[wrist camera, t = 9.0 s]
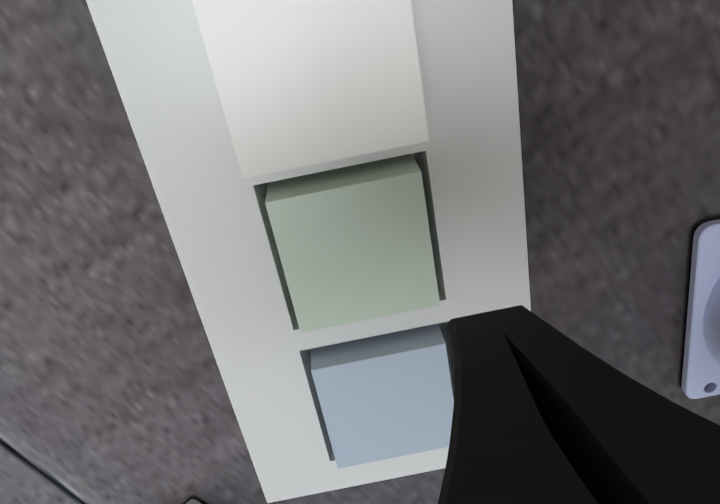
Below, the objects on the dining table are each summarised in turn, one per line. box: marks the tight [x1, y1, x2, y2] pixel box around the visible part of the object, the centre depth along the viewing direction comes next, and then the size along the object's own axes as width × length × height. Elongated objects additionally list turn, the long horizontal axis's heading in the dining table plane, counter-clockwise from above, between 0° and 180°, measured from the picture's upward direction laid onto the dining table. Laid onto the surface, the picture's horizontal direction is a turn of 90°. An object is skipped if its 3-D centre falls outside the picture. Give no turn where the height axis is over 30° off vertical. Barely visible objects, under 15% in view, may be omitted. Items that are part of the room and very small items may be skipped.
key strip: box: [86, 0, 531, 503], centre depth 17 cm, size 10×24×3 cm, turn 10°
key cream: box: [192, 0, 429, 179], centre depth 13 cm, size 4×4×3 cm
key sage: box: [265, 154, 440, 333], centre depth 18 cm, size 4×4×3 cm
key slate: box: [311, 323, 454, 469], centre depth 20 cm, size 4×4×3 cm
